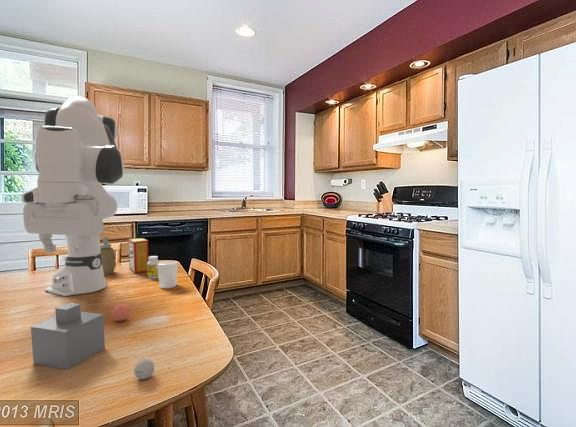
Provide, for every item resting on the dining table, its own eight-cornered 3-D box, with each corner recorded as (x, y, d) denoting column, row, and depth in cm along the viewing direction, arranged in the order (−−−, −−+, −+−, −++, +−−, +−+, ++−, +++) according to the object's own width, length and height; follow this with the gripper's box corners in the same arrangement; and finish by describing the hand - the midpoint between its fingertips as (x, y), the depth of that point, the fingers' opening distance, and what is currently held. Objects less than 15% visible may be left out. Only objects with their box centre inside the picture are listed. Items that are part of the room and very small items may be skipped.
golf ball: (133, 385, 65) (133, 366, 64) (134, 374, 68) (134, 357, 68) (154, 380, 66) (154, 362, 66) (154, 370, 70) (154, 353, 69)
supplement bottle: (162, 276, 147) (162, 255, 146) (154, 279, 142) (153, 258, 141) (153, 275, 148) (152, 255, 148) (144, 278, 143) (144, 257, 143)
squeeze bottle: (102, 276, 147) (100, 238, 145) (93, 273, 151) (91, 237, 150) (119, 272, 153) (118, 236, 152) (110, 270, 158) (109, 235, 156)
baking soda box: (129, 270, 158) (128, 238, 157) (143, 267, 162) (142, 237, 161) (135, 273, 151) (133, 241, 150) (149, 271, 155) (148, 239, 154)
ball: (107, 322, 95) (107, 306, 95) (120, 316, 100) (119, 301, 99) (121, 324, 94) (120, 308, 93) (133, 318, 98) (133, 302, 98)
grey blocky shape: (33, 363, 73) (29, 312, 72) (73, 342, 83) (71, 297, 82) (67, 369, 70) (64, 316, 69) (104, 347, 80) (102, 300, 79)
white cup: (171, 289, 127) (170, 265, 126) (154, 288, 128) (153, 264, 128) (181, 283, 135) (181, 261, 134) (165, 282, 136) (164, 260, 135)
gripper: (108, 194, 74) (111, 252, 75) (43, 195, 79) (46, 248, 80) (85, 195, 68) (88, 258, 69) (15, 195, 73) (19, 253, 74)
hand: (65, 253), depth 75 cm, fingers open, 8 cm apart
